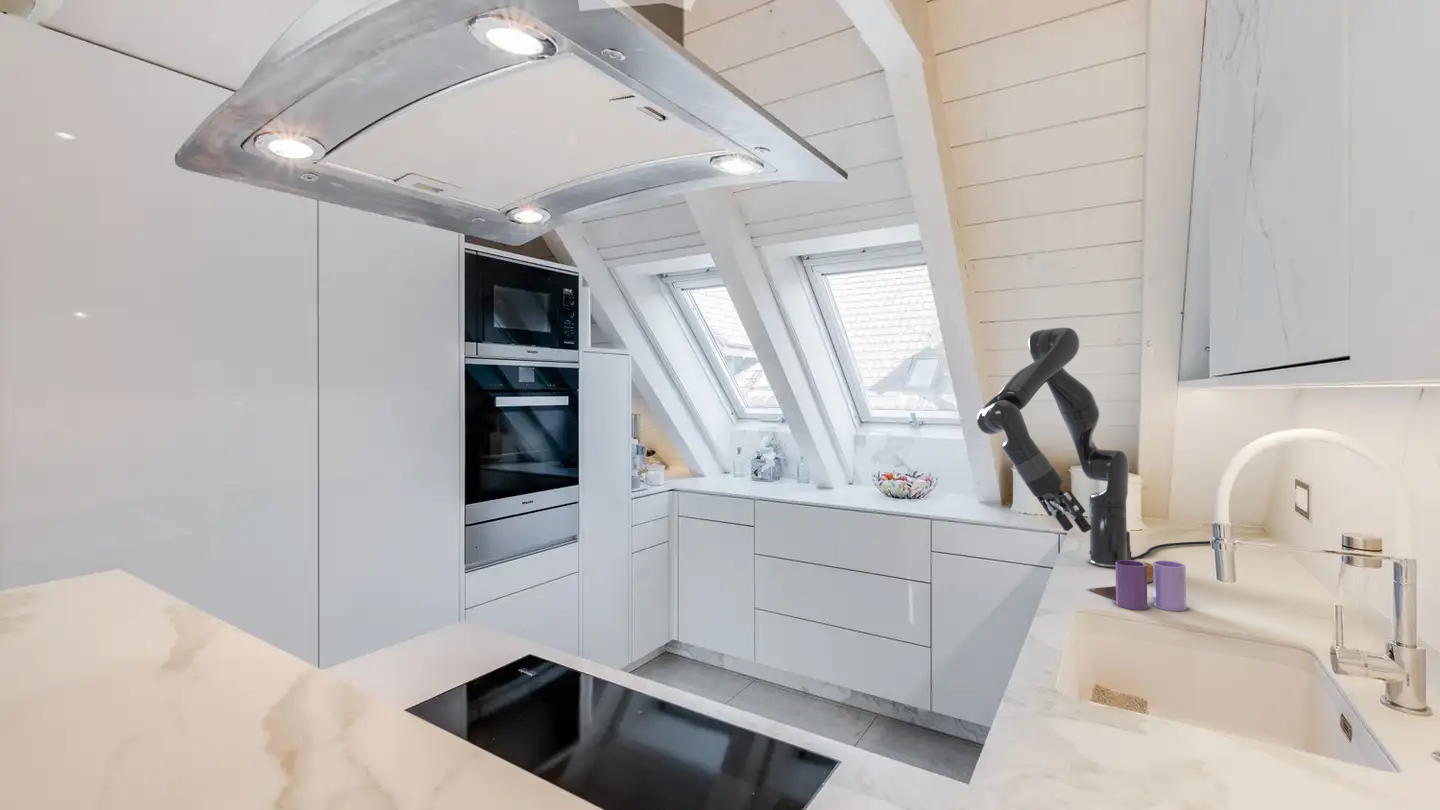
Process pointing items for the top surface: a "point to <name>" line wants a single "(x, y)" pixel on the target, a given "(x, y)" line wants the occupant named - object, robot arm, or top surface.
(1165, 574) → the lilac cup
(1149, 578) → the pastry
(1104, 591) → the coaster
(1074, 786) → the top surface
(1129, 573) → the plum cup
